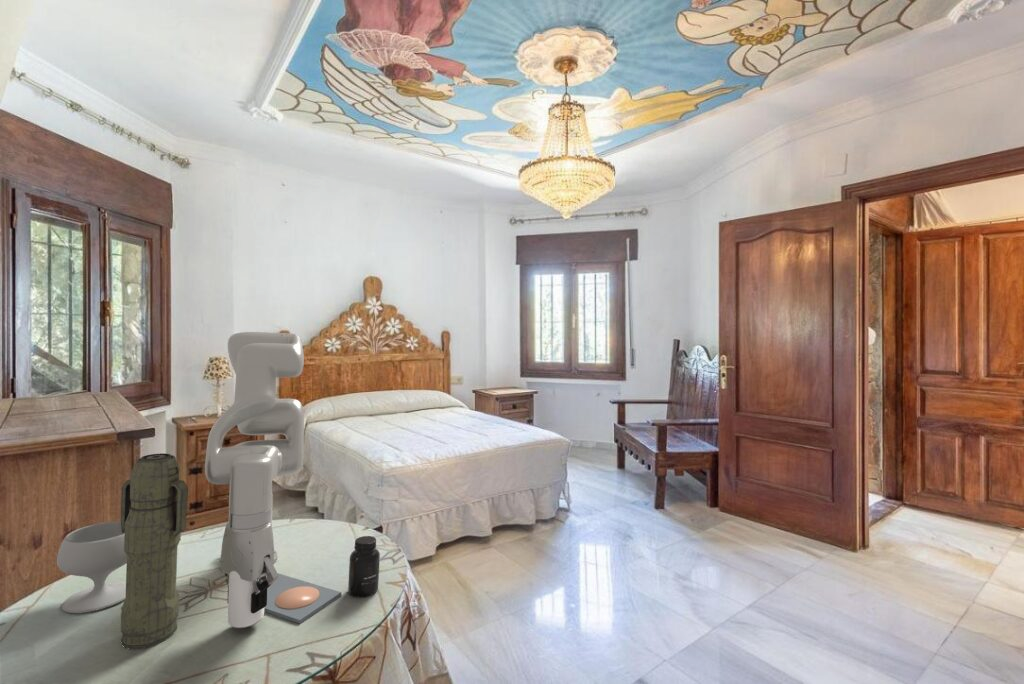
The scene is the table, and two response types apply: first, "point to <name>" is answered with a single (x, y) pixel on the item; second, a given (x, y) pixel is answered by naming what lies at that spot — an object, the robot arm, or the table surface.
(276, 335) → the robot arm
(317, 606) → the card
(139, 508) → the thermos
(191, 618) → the table surface
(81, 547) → the chalice
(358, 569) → the supplement bottle
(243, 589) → the can
